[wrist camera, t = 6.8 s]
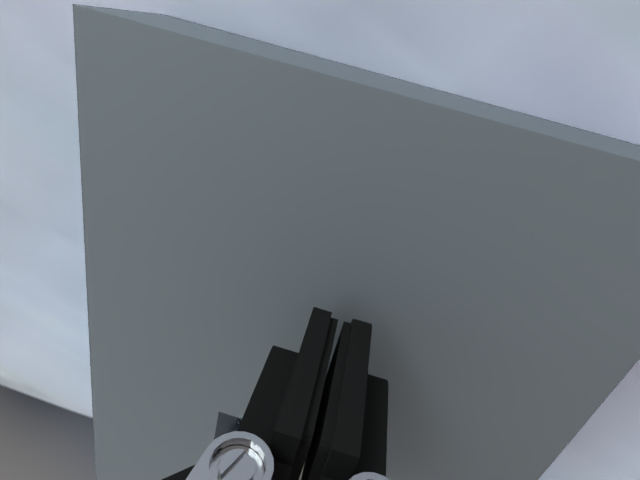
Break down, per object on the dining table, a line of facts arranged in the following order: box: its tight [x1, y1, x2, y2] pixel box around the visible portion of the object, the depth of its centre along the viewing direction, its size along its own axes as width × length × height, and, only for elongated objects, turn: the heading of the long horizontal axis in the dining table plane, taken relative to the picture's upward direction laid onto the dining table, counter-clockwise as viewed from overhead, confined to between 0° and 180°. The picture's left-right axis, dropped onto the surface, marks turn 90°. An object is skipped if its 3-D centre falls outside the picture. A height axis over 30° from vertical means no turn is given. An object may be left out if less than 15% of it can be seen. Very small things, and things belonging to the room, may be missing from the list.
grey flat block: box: [73, 4, 640, 480], centre depth 16 cm, size 22×16×4 cm
